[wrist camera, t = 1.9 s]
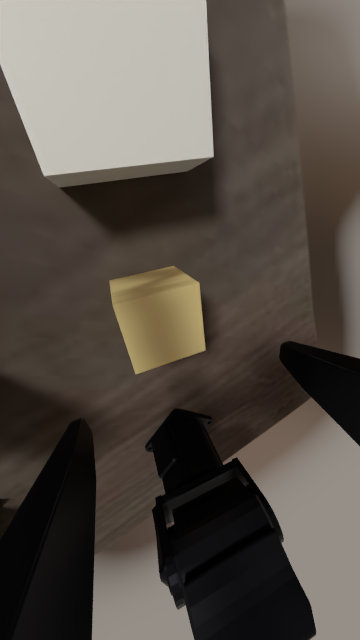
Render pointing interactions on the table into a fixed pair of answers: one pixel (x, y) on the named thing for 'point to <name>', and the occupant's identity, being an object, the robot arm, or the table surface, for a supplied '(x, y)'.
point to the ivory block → (110, 85)
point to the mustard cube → (159, 316)
